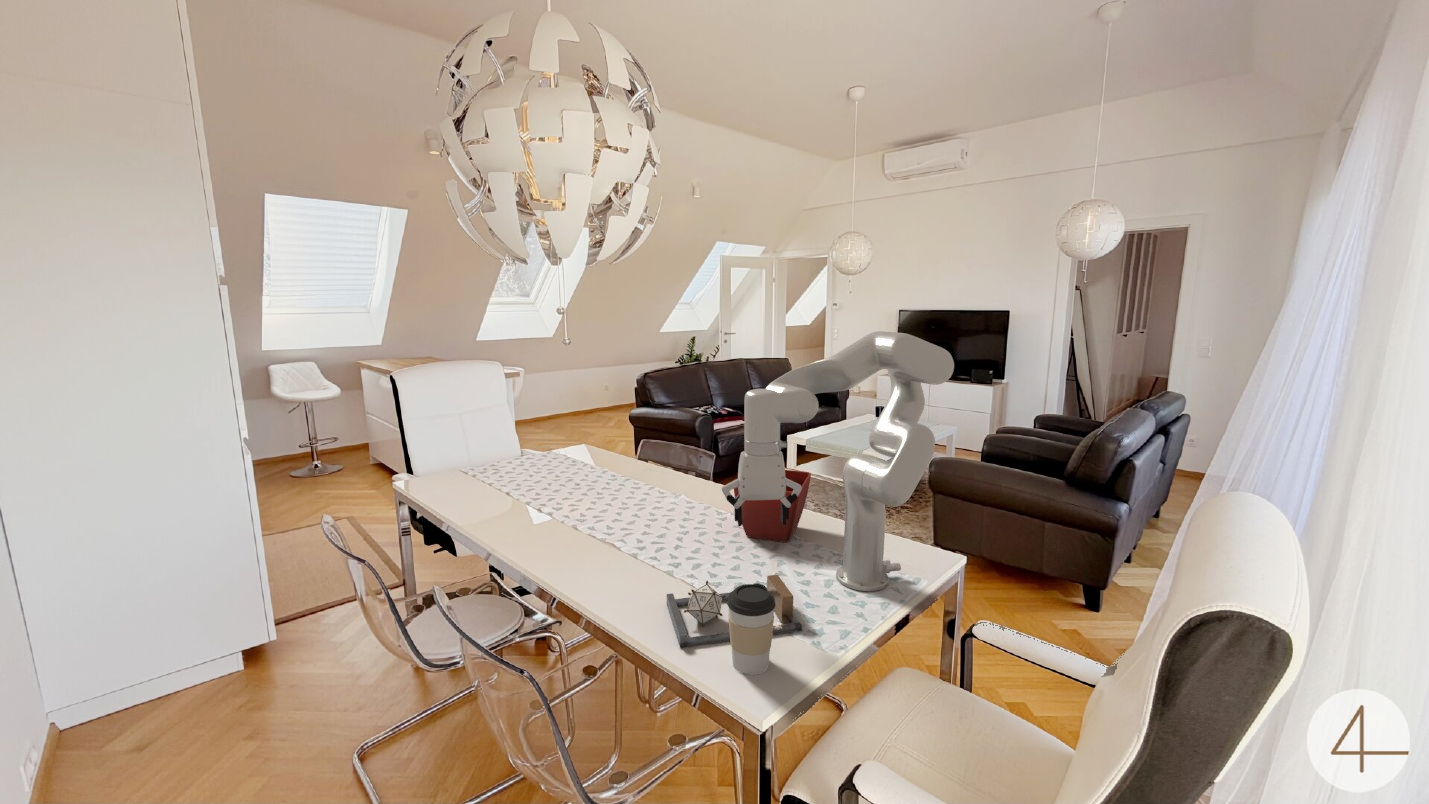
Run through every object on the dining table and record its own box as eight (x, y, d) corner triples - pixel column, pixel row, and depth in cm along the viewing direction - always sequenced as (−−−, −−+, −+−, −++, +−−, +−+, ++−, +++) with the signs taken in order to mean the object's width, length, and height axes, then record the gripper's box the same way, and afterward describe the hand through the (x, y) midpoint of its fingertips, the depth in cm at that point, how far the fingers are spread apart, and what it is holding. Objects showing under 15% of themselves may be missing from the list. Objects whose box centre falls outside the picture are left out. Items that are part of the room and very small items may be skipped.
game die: (702, 631, 128) (707, 584, 132) (731, 632, 122) (735, 583, 127) (673, 625, 122) (679, 576, 127) (701, 625, 117) (707, 574, 121)
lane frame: (774, 590, 138) (775, 567, 137) (802, 630, 121) (802, 604, 120) (666, 604, 132) (666, 579, 131) (680, 647, 115) (679, 620, 114)
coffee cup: (754, 685, 104) (755, 608, 102) (717, 664, 110) (717, 591, 108) (783, 662, 111) (785, 589, 108) (746, 643, 117) (747, 574, 114)
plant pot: (796, 550, 160) (798, 491, 157) (731, 540, 167) (731, 484, 164) (810, 524, 178) (811, 472, 175) (750, 516, 184) (751, 465, 181)
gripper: (799, 442, 127) (797, 515, 130) (720, 443, 126) (721, 517, 130) (805, 451, 120) (804, 529, 123) (722, 453, 119) (722, 531, 122)
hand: (761, 523), depth 126 cm, fingers open, 9 cm apart
